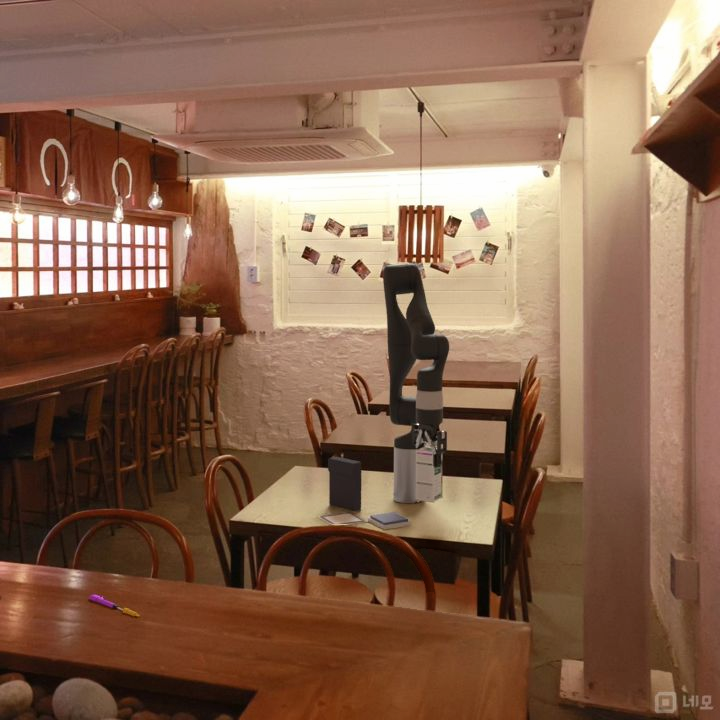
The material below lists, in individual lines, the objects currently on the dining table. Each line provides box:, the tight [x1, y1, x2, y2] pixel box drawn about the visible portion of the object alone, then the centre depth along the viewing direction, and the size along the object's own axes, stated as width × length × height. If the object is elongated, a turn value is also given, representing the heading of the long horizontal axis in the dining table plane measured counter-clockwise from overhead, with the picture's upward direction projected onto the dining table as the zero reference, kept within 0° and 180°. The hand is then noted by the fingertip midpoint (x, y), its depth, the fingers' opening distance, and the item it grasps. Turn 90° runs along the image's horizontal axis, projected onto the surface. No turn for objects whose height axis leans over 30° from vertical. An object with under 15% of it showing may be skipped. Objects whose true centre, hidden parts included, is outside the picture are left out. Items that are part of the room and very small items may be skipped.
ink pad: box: [367, 511, 412, 530], centre depth 226 cm, size 9×9×2 cm
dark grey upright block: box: [327, 456, 362, 513], centre depth 241 cm, size 11×4×15 cm, turn 47°
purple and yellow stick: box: [88, 594, 141, 618], centre depth 166 cm, size 3×1×16 cm
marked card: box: [318, 511, 368, 525], centre depth 229 cm, size 11×11×1 cm
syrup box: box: [416, 445, 444, 503], centre depth 221 cm, size 6×6×14 cm
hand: (428, 463), depth 220 cm, fingers closed on syrup box, 7 cm apart
